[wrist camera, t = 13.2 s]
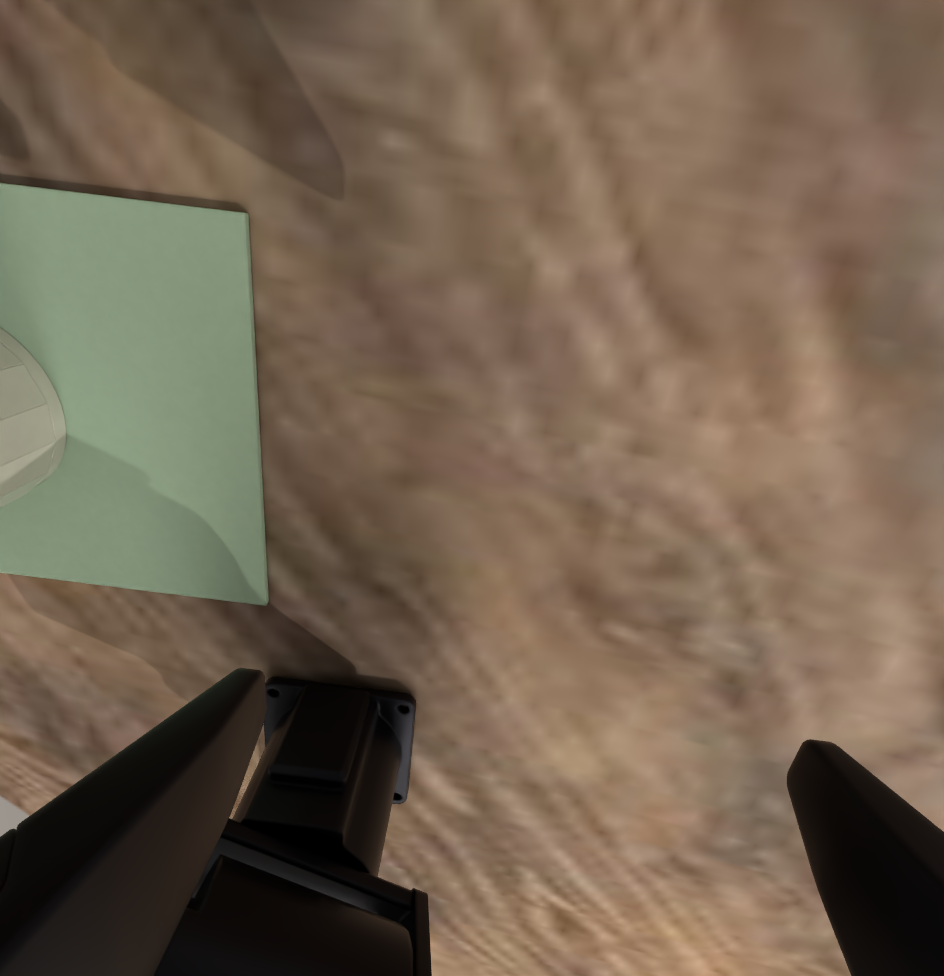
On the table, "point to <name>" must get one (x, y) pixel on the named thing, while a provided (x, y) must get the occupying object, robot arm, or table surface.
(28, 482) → the cup
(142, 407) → the felt mat
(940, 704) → the table surface
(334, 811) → the robot arm
